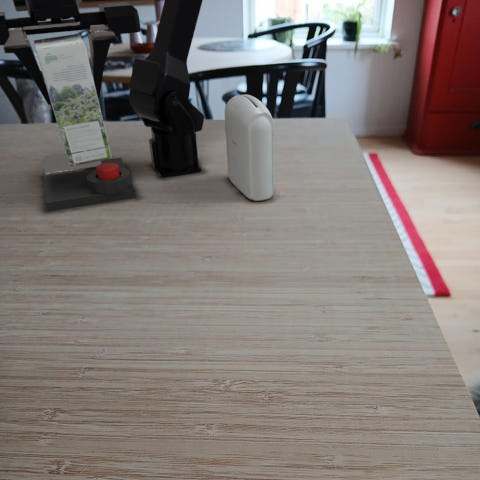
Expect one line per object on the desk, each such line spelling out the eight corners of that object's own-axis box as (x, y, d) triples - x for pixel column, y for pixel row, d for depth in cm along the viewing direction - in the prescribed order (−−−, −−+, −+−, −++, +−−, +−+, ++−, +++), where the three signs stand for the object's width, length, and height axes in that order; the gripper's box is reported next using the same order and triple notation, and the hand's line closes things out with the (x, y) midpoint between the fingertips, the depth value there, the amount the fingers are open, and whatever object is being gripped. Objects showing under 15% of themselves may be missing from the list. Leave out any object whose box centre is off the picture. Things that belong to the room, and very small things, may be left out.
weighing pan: (97, 151, 80) (96, 148, 80) (102, 168, 74) (102, 165, 74) (43, 158, 78) (43, 155, 78) (45, 176, 72) (44, 173, 72)
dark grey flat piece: (122, 165, 83) (119, 147, 81) (136, 199, 72) (133, 178, 70) (45, 176, 80) (40, 157, 78) (48, 213, 69) (42, 192, 67)
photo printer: (224, 178, 77) (219, 90, 70) (251, 173, 78) (249, 86, 71) (249, 204, 69) (246, 108, 62) (278, 198, 70) (279, 103, 63)
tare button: (118, 172, 73) (116, 161, 72) (121, 179, 71) (119, 168, 70) (97, 175, 73) (95, 164, 72) (99, 182, 70) (97, 171, 69)
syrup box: (107, 146, 73) (79, 31, 64) (113, 159, 69) (83, 38, 60) (67, 154, 72) (32, 38, 63) (70, 168, 67) (33, 46, 58)
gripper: (114, -54, 65) (134, 80, 74) (-45, -46, 60) (-2, 96, 69) (130, -54, 56) (150, 97, 66) (-54, -44, 52) (-4, 117, 61)
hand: (74, 101), depth 66 cm, fingers closed on syrup box, 6 cm apart
